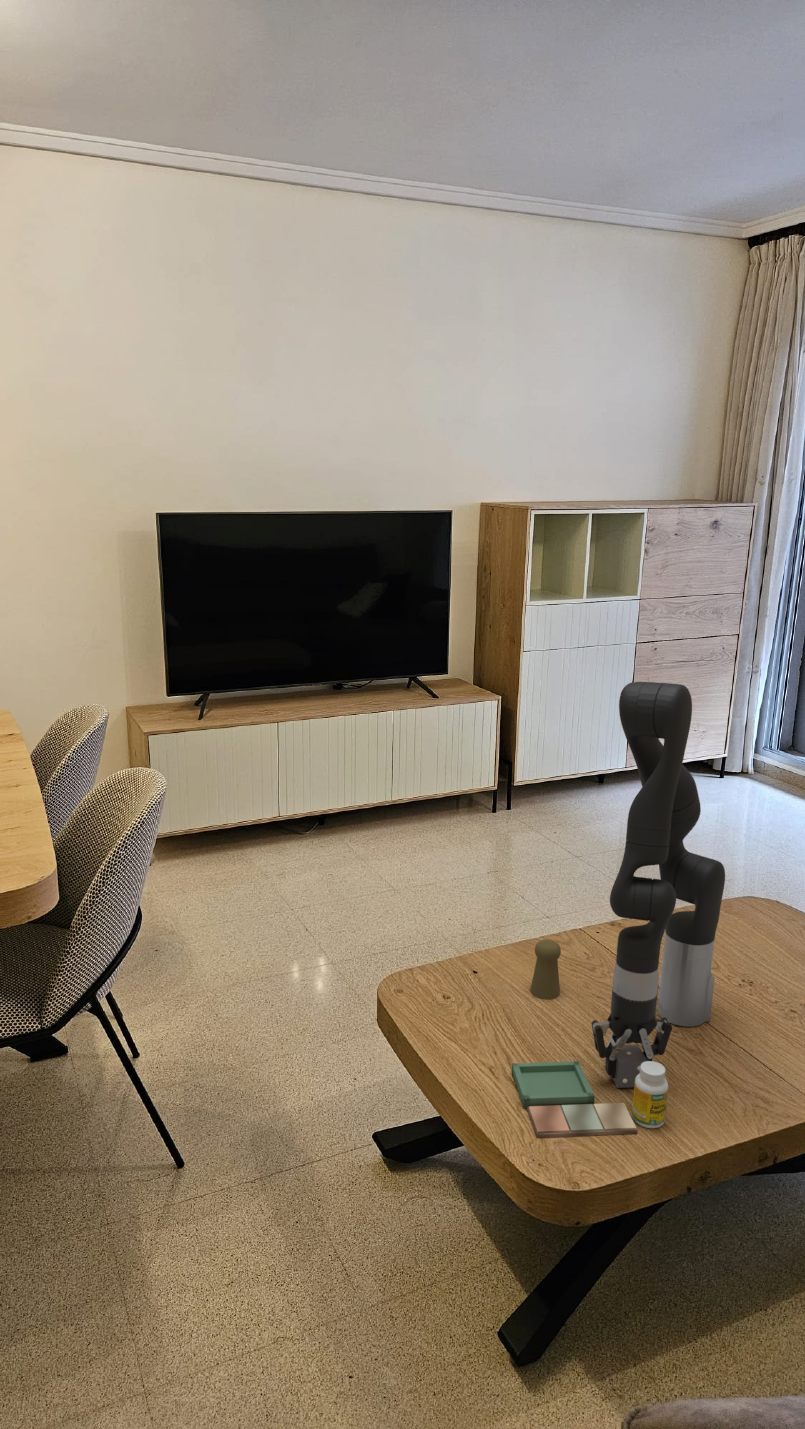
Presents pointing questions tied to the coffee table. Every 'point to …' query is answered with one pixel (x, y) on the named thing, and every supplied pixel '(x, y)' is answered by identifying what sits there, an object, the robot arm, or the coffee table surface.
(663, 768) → the robot arm
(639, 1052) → the die
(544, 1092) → the tray
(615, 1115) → the track
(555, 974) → the olive game pawn
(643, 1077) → the supplement bottle
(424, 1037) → the coffee table surface
